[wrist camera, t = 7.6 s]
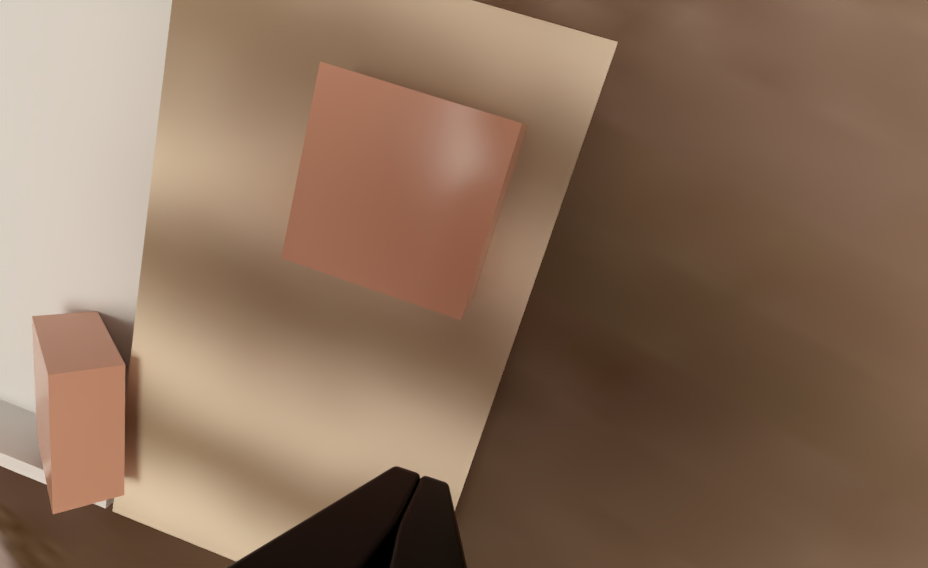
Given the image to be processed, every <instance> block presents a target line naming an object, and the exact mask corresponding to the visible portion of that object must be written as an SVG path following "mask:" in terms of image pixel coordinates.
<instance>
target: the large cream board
mask: <svg viewBox="0 0 928 568" xmlns="http://www.w3.org/2000/svg"><path fill="white" fill-rule="evenodd" d="M617 43H618V42H616V41H612V40H609V39H605V38H602V37H598V36H595V35H591V34H588V33H584V32H581V31H577V30H574V29H571V28H567V27H564V26H560V25H557V24H553V23H550V22H546V21H543V20H539V19H536V18H532V17H529V16H525V15H522V14H518V13H515V12H511V11H508V10H504V9H501V8H497V7H494V6H490V5H487V4H483V3H480V2H476V1H473V0H172V6H171V15H170V23H169V32H168V41H167V49H166V58H165V66H164V75H163V83H162V92H161V101H160V109H159V118H158V126H157V135H156V143H155V152H154V161H153V169H152V178H151V186H150V195H149V204H148V212H147V221H146V229H145V238H144V246H143V255H142V264H141V272H140V281H139V289H138V298H137V306H136V315H135V324H134V332H133V341H132V349H131V358H130V366H129V375H128V384H127V392H126V401H125V468H124V495H123V496H119V497H115V498H114V504H113V512H116V513H118V514H121V515H123V516H126V517H128V518H130V519H133V520H135V521H138V522H140V523H143V524H145V525H148V526H150V527H153V528H155V529H158V530H160V531H163V532H165V533H168V534H170V535H172V536H175V537H177V538H180V539H182V540H185V541H187V542H190V543H192V544H195V545H197V546H200V547H202V548H205V549H207V550H209V551H212V552H214V553H217V554H219V555H222V556H224V557H227V558H229V559H232V560H234V561H238V560H240V559H241V558H243V557H245V556H246V555H248V554H250V553H251V552H253V551H255V550H256V549H258V548H260V547H261V546H263V545H265V544H266V543H268V542H270V541H271V540H273V539H274V538H276V537H278V536H279V535H281V534H283V533H284V532H286V531H288V530H289V529H291V528H293V527H294V526H296V525H298V524H299V523H301V522H303V521H304V520H306V519H308V518H309V517H311V516H312V515H314V514H316V513H317V512H319V511H321V510H322V509H324V508H326V507H327V506H329V505H331V504H332V503H334V502H336V501H337V500H339V499H341V498H342V497H344V496H346V495H347V494H349V493H350V492H352V491H354V490H355V489H357V488H359V487H360V486H362V485H364V484H365V483H367V482H369V481H370V480H372V479H374V478H375V477H377V476H379V475H380V474H382V473H384V472H385V471H387V470H389V469H390V468H392V467H395V466H398V467H402V468H405V469H408V470H411V471H414V472H417V473H418V474H419V475H420V478H421V477H423V476H429V477H432V478H435V479H438V480H441V481H444V482H446V483H447V484H448V485H449V488H450V493H451V497H452V502H453V506H454V511H455V509H456V506H457V503H458V500H459V497H460V495H461V492H462V489H463V486H464V483H465V480H466V477H467V474H468V472H469V469H470V466H471V463H472V460H473V457H474V454H475V451H476V449H477V446H478V443H479V440H480V437H481V434H482V431H483V428H484V426H485V423H486V420H487V417H488V414H489V411H490V408H491V405H492V403H493V400H494V397H495V394H496V391H497V388H498V385H499V382H500V380H501V377H502V374H503V371H504V368H505V365H506V362H507V359H508V357H509V354H510V351H511V348H512V345H513V342H514V339H515V336H516V334H517V331H518V328H519V325H520V322H521V319H522V316H523V313H524V311H525V308H526V305H527V302H528V299H529V296H530V293H531V290H532V288H533V285H534V282H535V279H536V276H537V273H538V270H539V267H540V265H541V262H542V259H543V256H544V253H545V250H546V247H547V244H548V242H549V239H550V236H551V233H552V230H553V227H554V224H555V221H556V219H557V216H558V213H559V210H560V207H561V204H562V201H563V198H564V196H565V193H566V190H567V187H568V184H569V181H570V178H571V175H572V173H573V170H574V167H575V164H576V161H577V158H578V155H579V152H580V150H581V147H582V144H583V141H584V138H585V135H586V132H587V129H588V127H589V124H590V121H591V118H592V115H593V112H594V109H595V106H596V104H597V101H598V98H599V95H600V92H601V89H602V86H603V83H604V81H605V78H606V75H607V72H608V69H609V66H610V63H611V60H612V58H613V55H614V52H615V49H616V46H617ZM320 62H324V63H327V64H330V65H333V66H337V67H340V68H343V69H347V70H350V71H353V72H356V73H360V74H363V75H366V76H369V77H373V78H376V79H379V80H382V81H386V82H389V83H392V84H396V85H399V86H402V87H405V88H409V89H412V90H415V91H418V92H422V93H425V94H428V95H431V96H435V97H438V98H441V99H445V100H448V101H451V102H454V103H458V104H461V105H464V106H467V107H471V108H474V109H477V110H481V111H484V112H487V113H490V114H494V115H497V116H500V117H503V118H507V119H510V120H513V121H516V122H520V123H523V124H525V125H527V126H528V127H527V130H526V133H525V136H524V139H523V143H522V146H521V149H520V152H519V155H518V159H517V162H516V165H515V168H514V171H513V174H512V178H511V181H510V184H509V187H508V190H507V193H506V197H505V200H504V203H503V206H502V209H501V212H500V216H499V219H498V222H497V225H496V228H495V232H494V235H493V238H492V241H491V244H490V247H489V251H488V254H487V257H486V260H485V263H484V266H483V270H482V273H481V276H480V279H479V282H478V285H477V289H476V292H475V295H474V298H473V300H472V302H471V303H470V305H469V307H468V309H467V310H466V312H465V314H464V315H463V317H462V319H461V320H459V319H456V318H453V317H450V316H447V315H444V314H442V313H439V312H436V311H433V310H430V309H427V308H424V307H421V306H418V305H416V304H413V303H410V302H407V301H404V300H401V299H398V298H395V297H392V296H389V295H387V294H384V293H381V292H378V291H375V290H372V289H369V288H366V287H363V286H360V285H358V284H355V283H352V282H349V281H346V280H343V279H340V278H337V277H334V276H331V275H329V274H326V273H323V272H320V271H317V270H314V269H311V268H308V267H305V266H302V265H300V264H297V263H294V262H291V261H288V260H285V259H282V258H281V257H282V252H283V247H284V242H285V237H286V231H287V226H288V221H289V216H290V211H291V206H292V201H293V196H294V191H295V186H296V181H297V176H298V171H299V165H300V160H301V155H302V150H303V145H304V140H305V135H306V130H307V125H308V120H309V115H310V110H311V104H312V99H313V94H314V89H315V84H316V79H317V74H318V69H319V64H320Z"/></svg>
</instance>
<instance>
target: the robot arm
mask: <svg viewBox="0 0 928 568" xmlns="http://www.w3.org/2000/svg"><path fill="white" fill-rule="evenodd" d="M227 568H467V565H466V561H465V556H464V552H463V547H462V543H461V538H460V533H459V529H458V524H457V520H456V515H455V511H454V506H453V502H452V497H451V493H450V488H449V485H448V484H447V483H446V482H444V481H441V480H438V479H435V478H432V477H429V476H423V477H421V478H420V475H419V474H418V473H417V472H414V471H411V470H408V469H405V468H402V467H398V466H395V467H392V468H390V469H389V470H387V471H385V472H384V473H382V474H380V475H379V476H377V477H375V478H374V479H372V480H370V481H369V482H367V483H365V484H364V485H362V486H360V487H359V488H357V489H355V490H354V491H352V492H350V493H349V494H347V495H346V496H344V497H342V498H341V499H339V500H337V501H336V502H334V503H332V504H331V505H329V506H327V507H326V508H324V509H322V510H321V511H319V512H317V513H316V514H314V515H312V516H311V517H309V518H308V519H306V520H304V521H303V522H301V523H299V524H298V525H296V526H294V527H293V528H291V529H289V530H288V531H286V532H284V533H283V534H281V535H279V536H278V537H276V538H274V539H273V540H271V541H270V542H268V543H266V544H265V545H263V546H261V547H260V548H258V549H256V550H255V551H253V552H251V553H250V554H248V555H246V556H245V557H243V558H241V559H240V560H238V561H236V562H235V563H233V564H231V565H230V566H228V567H227Z"/></svg>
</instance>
